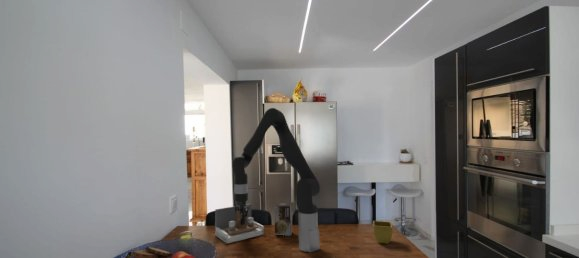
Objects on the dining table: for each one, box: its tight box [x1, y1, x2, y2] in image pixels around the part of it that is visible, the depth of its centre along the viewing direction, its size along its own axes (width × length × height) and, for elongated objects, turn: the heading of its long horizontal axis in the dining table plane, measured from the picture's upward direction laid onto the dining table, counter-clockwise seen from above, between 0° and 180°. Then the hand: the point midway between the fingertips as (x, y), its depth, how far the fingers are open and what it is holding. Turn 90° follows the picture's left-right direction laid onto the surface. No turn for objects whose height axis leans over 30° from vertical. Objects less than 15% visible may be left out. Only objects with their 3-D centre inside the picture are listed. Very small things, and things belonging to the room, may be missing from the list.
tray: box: [225, 211, 258, 235], centre depth 142 cm, size 8×16×10 cm, turn 126°
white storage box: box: [214, 203, 265, 244], centre depth 144 cm, size 16×22×14 cm
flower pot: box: [373, 220, 393, 244], centre depth 130 cm, size 9×9×9 cm
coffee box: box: [273, 203, 293, 237], centre depth 144 cm, size 9×6×16 cm
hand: (241, 223), depth 142 cm, fingers closed on tray, 3 cm apart
